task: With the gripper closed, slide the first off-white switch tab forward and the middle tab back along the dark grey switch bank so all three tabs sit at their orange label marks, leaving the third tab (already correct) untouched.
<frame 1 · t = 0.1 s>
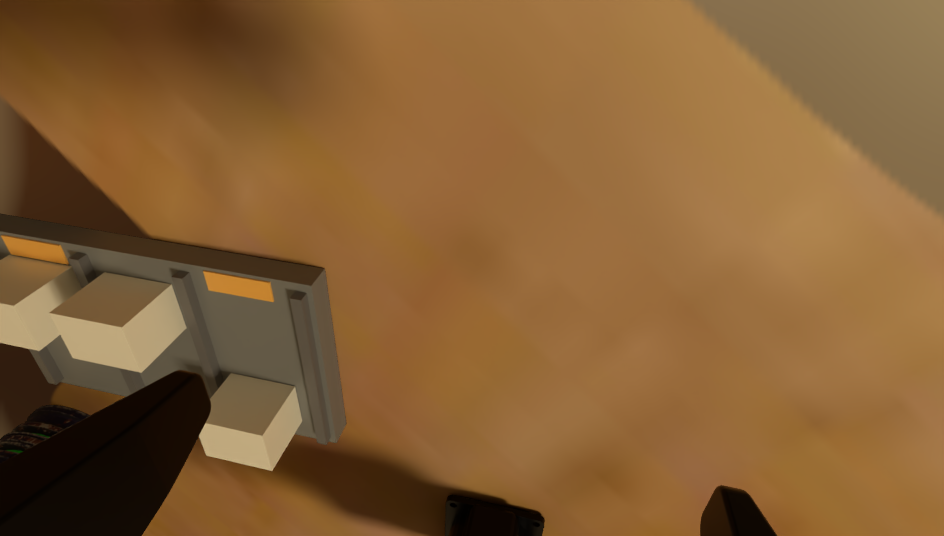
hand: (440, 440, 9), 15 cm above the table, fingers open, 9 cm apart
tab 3: (23, 301, 29), point 3 cm above the table, slide at 3.0 cm
storage jar: (91, 444, 43), on the table
tab 1: (251, 420, 30), point 3 cm above the table, slide at -3.0 cm
switch bank: (179, 324, 32), on the table
tab 2: (122, 320, 28), point 3 cm above the table, slide at 3.0 cm
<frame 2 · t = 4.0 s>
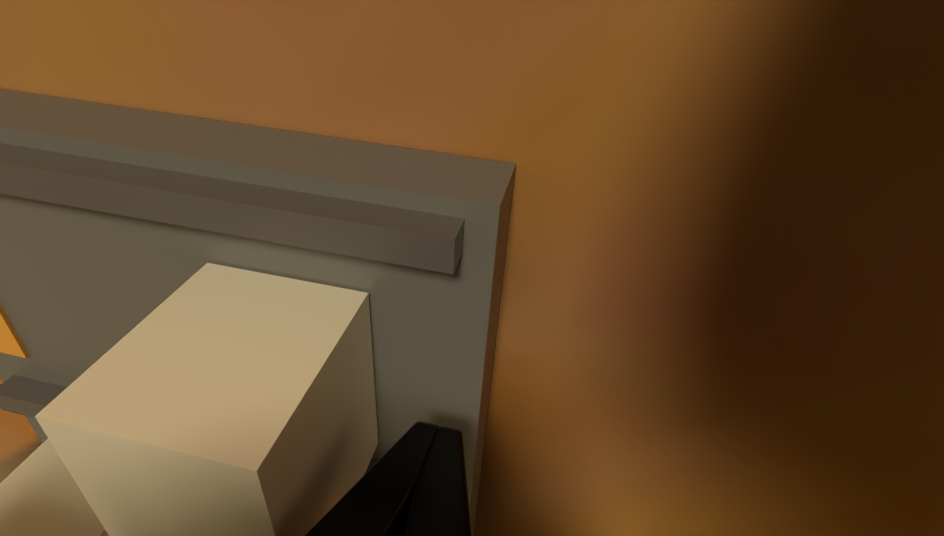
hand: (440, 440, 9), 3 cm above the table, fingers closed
tab 1: (251, 432, 9), point 3 cm above the table, slide at -2.4 cm, touching gripper
switch bank: (273, 456, 15), on the table
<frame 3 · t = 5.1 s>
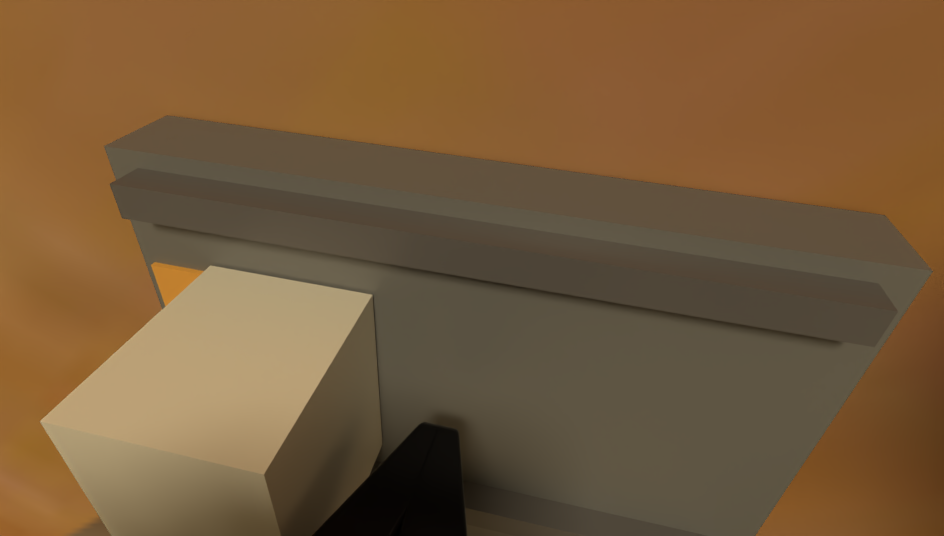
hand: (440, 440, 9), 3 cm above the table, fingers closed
tab 1: (255, 435, 9), point 3 cm above the table, slide at 3.1 cm, touching gripper, switch bank
switch bank: (464, 502, 15), on the table
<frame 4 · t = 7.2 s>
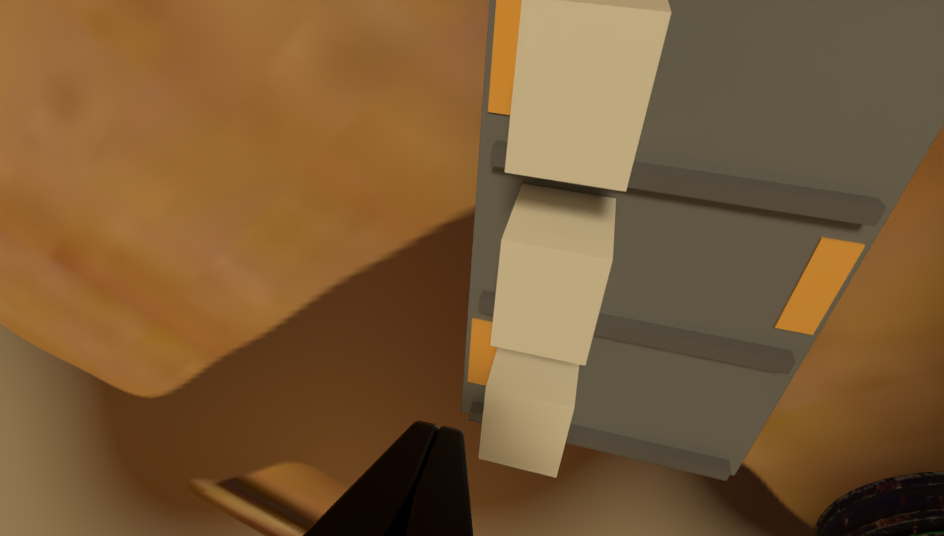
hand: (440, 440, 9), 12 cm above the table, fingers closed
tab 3: (530, 398, 21), point 3 cm above the table, slide at 3.0 cm
storage jar: (936, 534, 24), on the table
tab 1: (583, 79, 13), point 3 cm above the table, slide at 3.1 cm, touching switch bank
switch bank: (647, 234, 19), on the table
tab 2: (553, 272, 17), point 3 cm above the table, slide at 3.0 cm
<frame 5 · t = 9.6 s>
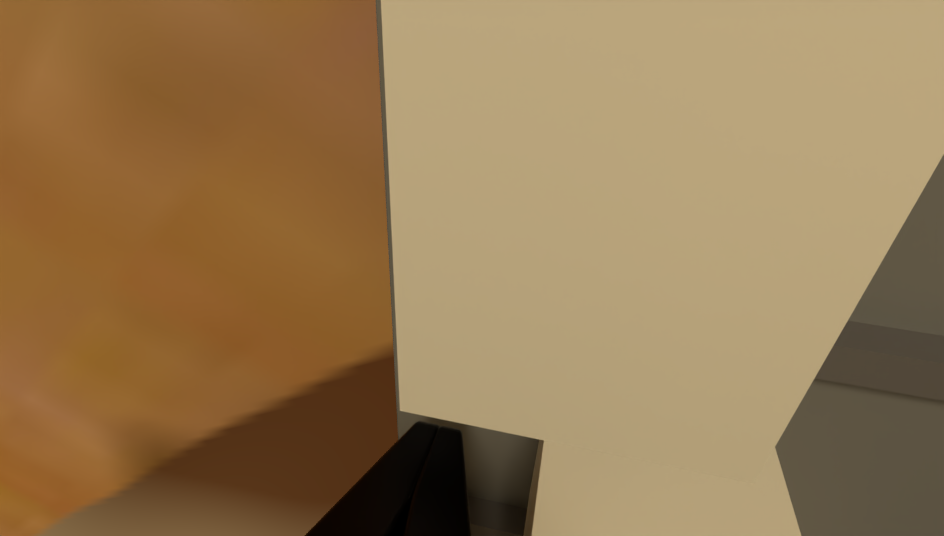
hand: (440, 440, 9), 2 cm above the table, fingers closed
tab 1: (613, 147, 5), point 3 cm above the table, slide at 3.1 cm, touching switch bank
switch bank: (715, 397, 10), on the table
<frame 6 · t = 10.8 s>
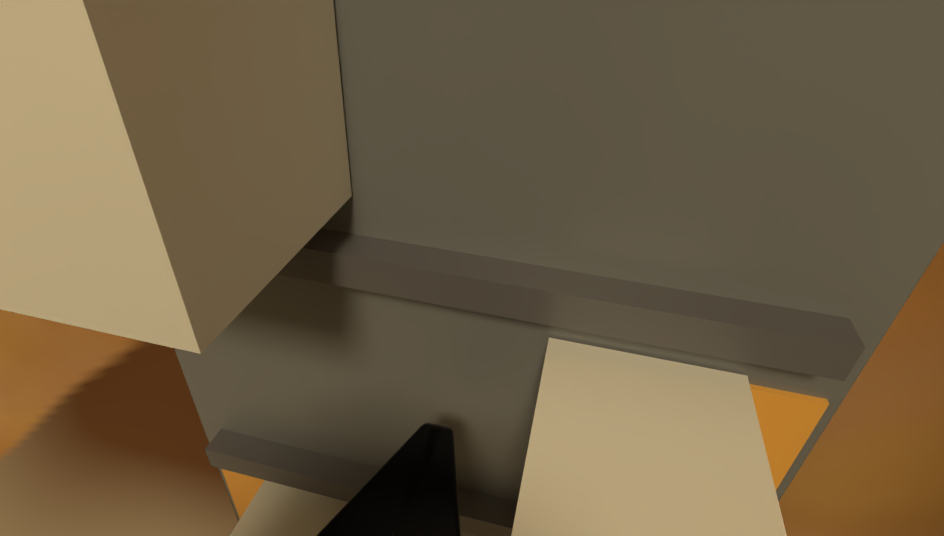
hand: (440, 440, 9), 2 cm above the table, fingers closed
tab 1: (136, 78, 6), point 3 cm above the table, slide at 3.1 cm, touching switch bank
switch bank: (470, 346, 11), on the table
tab 2: (617, 531, 8), point 3 cm above the table, slide at -3.1 cm, touching gripper, switch bank
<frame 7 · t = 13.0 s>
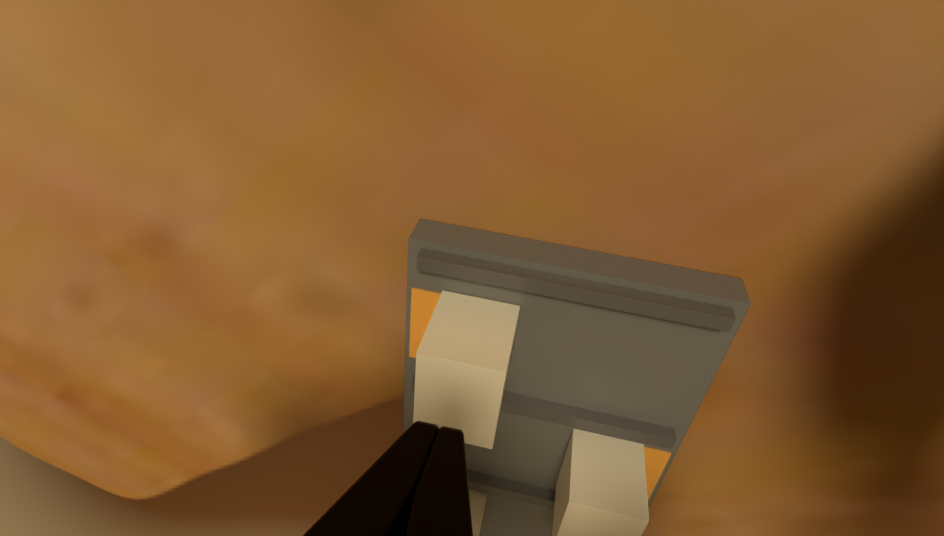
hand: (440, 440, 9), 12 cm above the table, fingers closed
tab 1: (466, 368, 20), point 3 cm above the table, slide at 3.1 cm, touching switch bank
switch bank: (533, 422, 26), on the table
tab 2: (597, 499, 23), point 3 cm above the table, slide at -3.1 cm, touching switch bank
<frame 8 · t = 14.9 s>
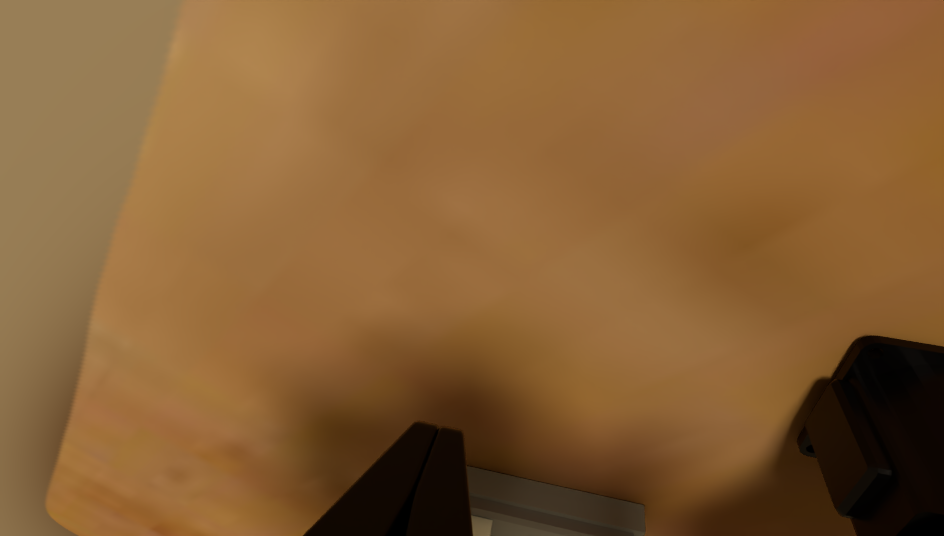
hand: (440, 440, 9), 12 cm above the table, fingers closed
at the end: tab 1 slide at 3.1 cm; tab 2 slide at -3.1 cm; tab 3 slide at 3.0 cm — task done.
